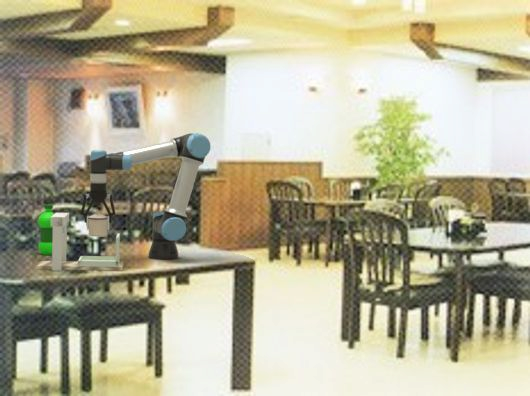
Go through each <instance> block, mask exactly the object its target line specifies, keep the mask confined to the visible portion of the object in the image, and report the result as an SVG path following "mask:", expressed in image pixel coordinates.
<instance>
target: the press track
mask: <svg viewBox="0 0 530 396" xmlns="http://www.w3.org/2000/svg"><path fill="white" fill-rule="evenodd" d="M124 265H125V264H124V261H119V265H118V267H84V266H78V260H77V261H71V260H70V261H67V260H66V261H62V270H63V271H65V270H67V271H68V270H69V271H117V270H119V271H120V272H122V271H123V269H124ZM36 269H37V270H49V269H51V271H52V260H41V261H40V262H39V263H38V264H37V265H36ZM62 270H61V271H62Z"/></svg>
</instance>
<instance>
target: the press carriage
mask: <svg viewBox="0 0 530 396" xmlns="http://www.w3.org/2000/svg"><path fill="white" fill-rule="evenodd" d="M120 246H121V233H120V232H119V233H118V232H117V233H116V237H115V256H104V255H103V256H102V255H101V256H100V255H94V256H93V255H80V256H79V258H78V260H77V261H78V266H84V267H118V265H119V262H120V249H121V247H120Z"/></svg>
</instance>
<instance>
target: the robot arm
mask: <svg viewBox="0 0 530 396" xmlns="http://www.w3.org/2000/svg"><path fill="white" fill-rule="evenodd" d="M210 151H211V142H210V140H209V138H208V137H207V136H206V135H204V134H201V133H199V132H198V133H193V132H192V133H187V134H183V135H181V136H178V137H173V138H171V139H170V140H169V141H165V142H161V143H154V144H151V145H145V146H142V147H138V148H137V147H136V148H133V149H128V150H123V151H120V152H119V151H117V152H116V153H114V152H111V153H107V150H106V149H93V150H91V152H90V159H89V161H90V164H89V165H90V168H89V169H90V171H89V172H90V173H89V174H90V177H89V179H90V184H89V185H90V186H89V188H90V189H89V191H90V192H89V193H84V194H83V201H82V206H81V210H80V215H81V216H83V217H84V218H83V219H84V222H83V223H84V224H86V223H87V227H86V230H87V231H89V219H88V218H89V216H90V215H88V214H89V212H90V211H91V209H92V208H93V207H92V206H93V205H94V203H102V204H103V206H104V208H105V209H106V212H107V214H108V215H107V218H108V219H107V231H109V230H110V224H112V219H113V216H115V215H116V209H115V208H116V207H115V205H114V201H113V199H114V198H113V196H114V195H113V193H110V194H109V193H108V192H107V183H106V182H107V171H130V170H131V168H132V166H133V165H138V164H142V163H143V164H144V163H147V162H151V161H157V160H161V159H166V158H169V157H175V158H180V159H181V160H182V162H181V165H180V168H179V173H178V175H177V178H176V182H175V185H174V187H173V191H172V195H171V198H170V202H169V205H168V208H166V209H164V211H163V212H162V211H161V212H157V211H156V212H154V213H153V214H152V238H151V239H152V241H151V245H150V247H149V251H148V256H147V257H148V258H149V259H152V258H155V260H172V259H171V258H177V259H179V250H178V246H177V244H176V241H179V240H181V239H182V238H183V237H185V234H186V232H187V225H186V224H187V223H186V222H187V220H188V219H187V218H188V215H187V213H186V211H187V208H188V205H189V201H190V198H191V195H192V191H193V187H194V184H195V181H196V178H197V174H198V172H199V169H200V166H202V165H203V164H204V163H205V162H204V161H205V158H206V157H207V156H208V155H209V153H210ZM89 197H90V200H91V201H90V203H89V205H88V207H87V208H86V204H87V200H88V199H89ZM106 198H107V199H109V203H110V207H111V210H110V208H109V206H108V204H107V202H106ZM85 208H86V211H85Z"/></svg>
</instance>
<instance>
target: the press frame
mask: <svg viewBox="0 0 530 396" xmlns="http://www.w3.org/2000/svg"><path fill="white" fill-rule="evenodd" d="M69 222H70V212H55V213H54V215H53V216H51V226H53V243H52V255H51V256H52V260H51V261H52V270H51V271H52V272H53V271H56V272H61V271H62V261H67V243H68V242H67V239H68V237H67V234H68V224H69Z"/></svg>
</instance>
